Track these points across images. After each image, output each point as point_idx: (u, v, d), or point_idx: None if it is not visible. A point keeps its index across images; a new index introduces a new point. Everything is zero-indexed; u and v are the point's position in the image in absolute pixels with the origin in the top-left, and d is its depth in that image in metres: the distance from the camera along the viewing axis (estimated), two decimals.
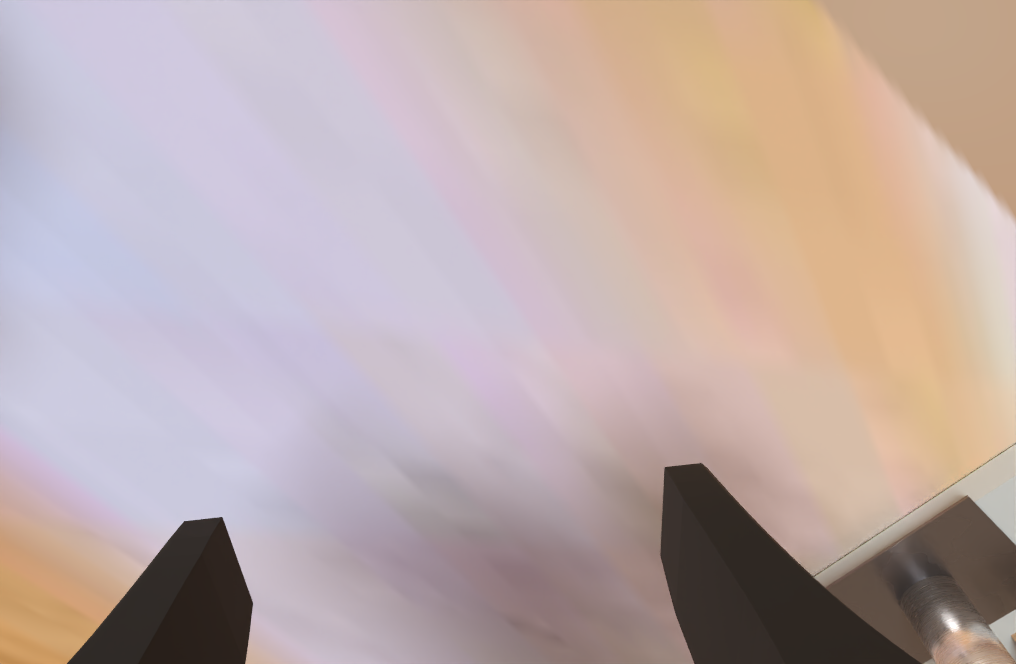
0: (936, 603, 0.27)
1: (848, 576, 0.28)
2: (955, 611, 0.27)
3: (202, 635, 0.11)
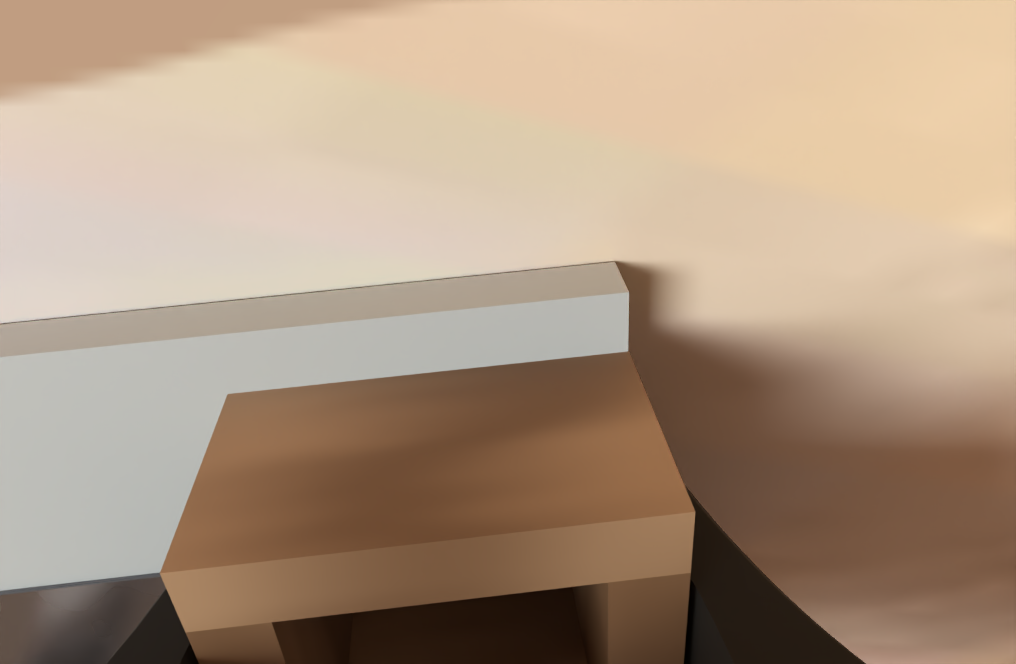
0: None
1: None
2: None
3: None
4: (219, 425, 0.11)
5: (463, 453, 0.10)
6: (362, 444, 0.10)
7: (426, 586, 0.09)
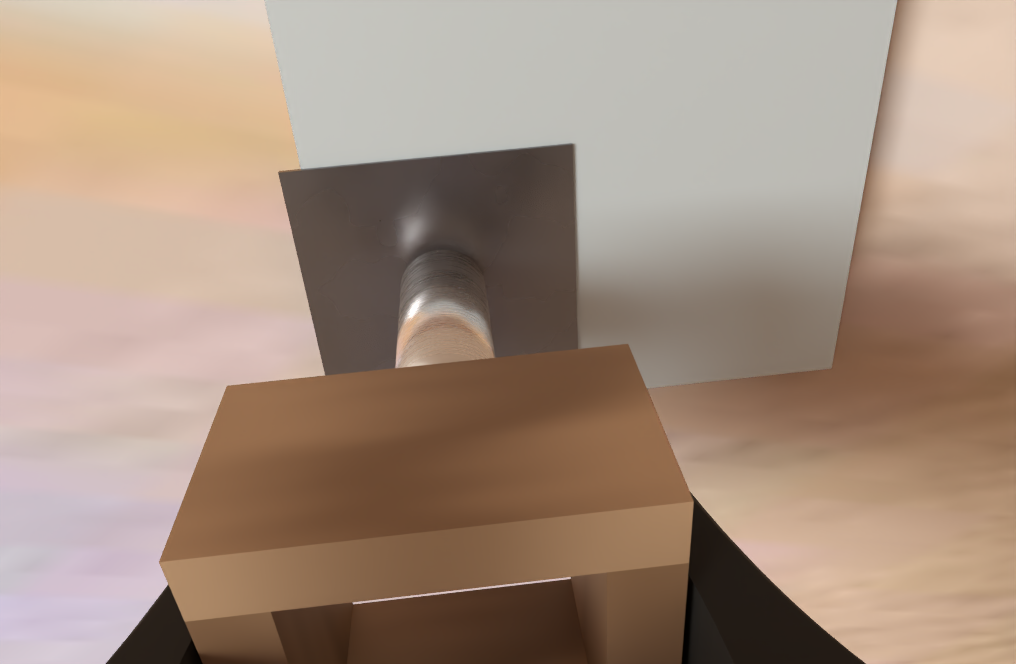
0: None
1: (320, 347, 0.21)
2: (403, 300, 0.19)
3: None
4: (218, 416, 0.11)
5: (462, 444, 0.10)
6: (361, 435, 0.10)
7: (424, 575, 0.09)
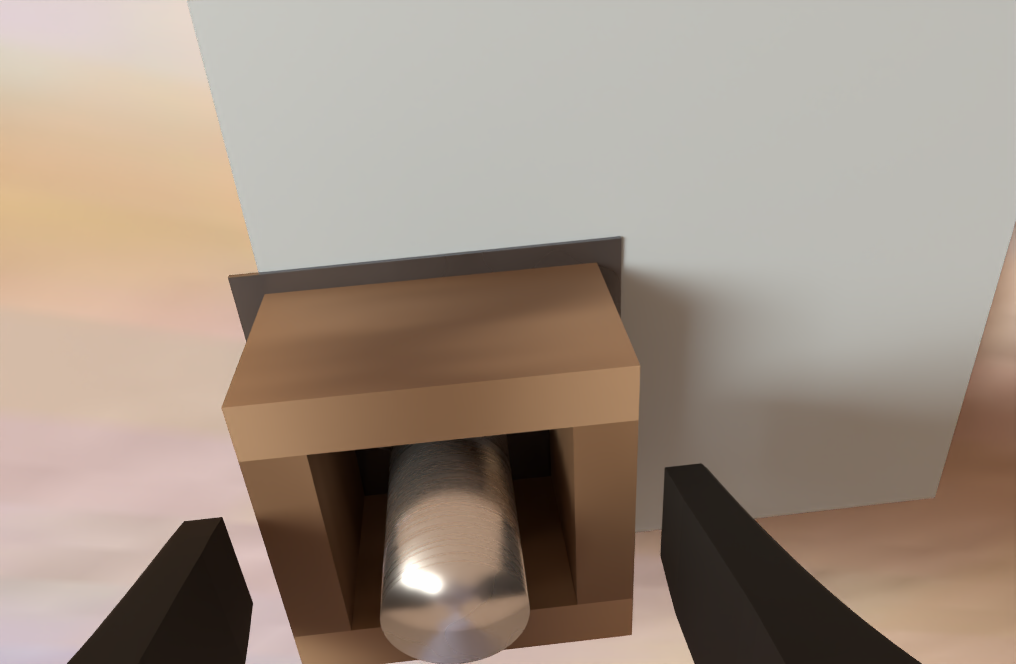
0: None
1: None
2: None
3: (202, 635, 0.11)
4: (259, 314, 0.13)
5: (459, 330, 0.12)
6: (377, 326, 0.13)
7: (429, 426, 0.11)
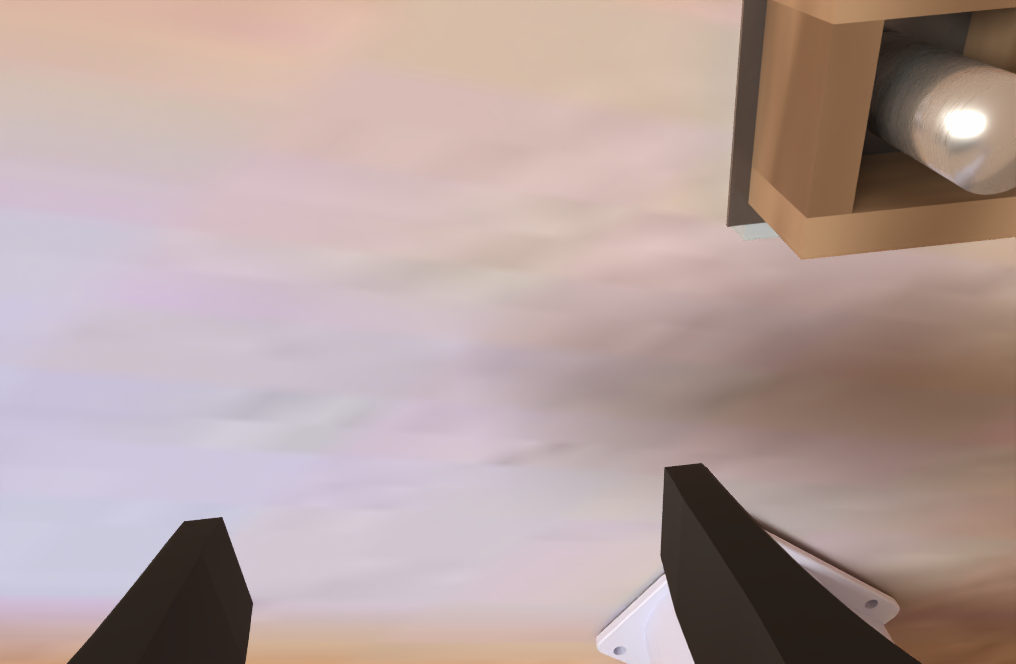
0: None
1: (735, 150, 0.20)
2: (876, 72, 0.17)
3: (202, 635, 0.11)
4: None
5: None
6: None
7: None
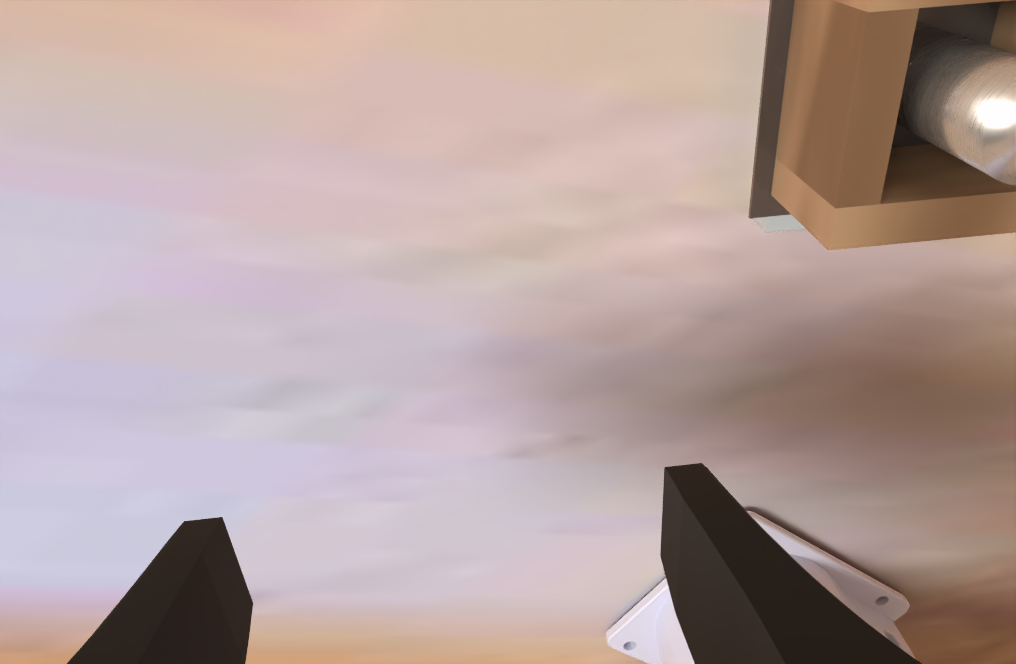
0: None
1: (759, 140, 0.20)
2: None
3: (202, 635, 0.11)
4: None
5: None
6: None
7: None
